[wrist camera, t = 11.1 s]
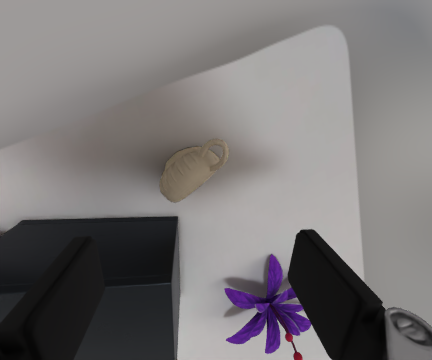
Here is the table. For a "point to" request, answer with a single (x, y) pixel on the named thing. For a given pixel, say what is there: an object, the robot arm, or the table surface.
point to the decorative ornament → (191, 169)
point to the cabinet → (107, 281)
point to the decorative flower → (270, 312)
